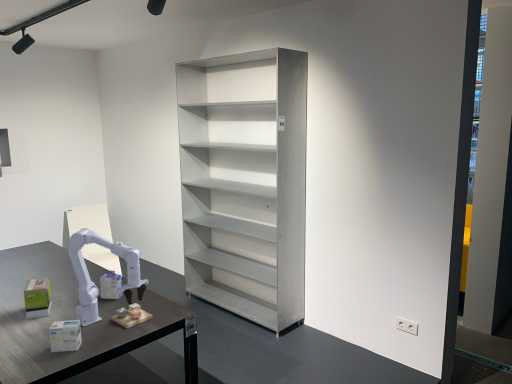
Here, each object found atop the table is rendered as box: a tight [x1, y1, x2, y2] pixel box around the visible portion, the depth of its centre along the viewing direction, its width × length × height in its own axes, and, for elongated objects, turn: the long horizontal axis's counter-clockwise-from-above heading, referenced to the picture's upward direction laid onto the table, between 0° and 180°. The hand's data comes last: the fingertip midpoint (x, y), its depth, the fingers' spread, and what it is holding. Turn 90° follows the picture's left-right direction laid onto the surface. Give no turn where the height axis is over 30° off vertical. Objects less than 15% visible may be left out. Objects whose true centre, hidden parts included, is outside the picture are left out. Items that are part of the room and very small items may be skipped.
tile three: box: [115, 307, 129, 318], centre depth 201 cm, size 4×4×3 cm
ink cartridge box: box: [99, 270, 123, 300], centre depth 226 cm, size 10×6×14 cm, turn 82°
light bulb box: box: [48, 319, 82, 353], centre depth 175 cm, size 11×7×11 cm, turn 99°
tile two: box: [128, 302, 142, 311], centre depth 206 cm, size 4×4×3 cm
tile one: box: [129, 309, 142, 319], centre depth 200 cm, size 4×4×3 cm
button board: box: [111, 309, 153, 329], centre depth 202 cm, size 14×13×2 cm
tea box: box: [23, 277, 52, 320], centre depth 209 cm, size 15×10×15 cm, turn 21°
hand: (134, 302), depth 199 cm, fingers open, 5 cm apart
